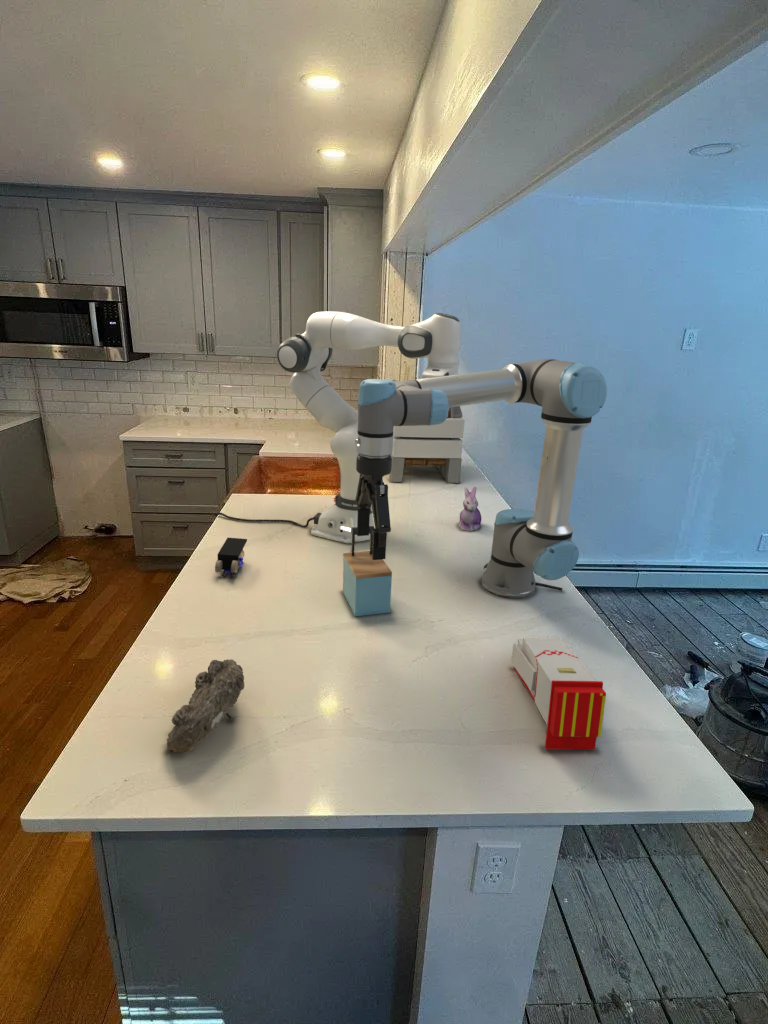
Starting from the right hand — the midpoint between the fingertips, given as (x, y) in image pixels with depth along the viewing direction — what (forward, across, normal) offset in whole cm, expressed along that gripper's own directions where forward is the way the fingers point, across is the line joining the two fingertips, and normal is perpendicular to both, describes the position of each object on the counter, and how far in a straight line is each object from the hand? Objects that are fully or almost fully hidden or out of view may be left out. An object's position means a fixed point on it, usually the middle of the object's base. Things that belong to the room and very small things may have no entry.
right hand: (370, 546), depth 127 cm
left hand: (-20, -44, +32) cm, 58 cm away
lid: (+13, -18, +4) cm, 23 cm away
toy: (+24, +30, +30) cm, 49 cm away
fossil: (+24, +19, -36) cm, 47 cm away
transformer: (+24, -136, +63) cm, 151 cm away
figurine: (+24, -64, +56) cm, 89 cm away
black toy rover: (+24, -45, -29) cm, 59 cm away
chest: (+24, -18, +4) cm, 30 cm away
